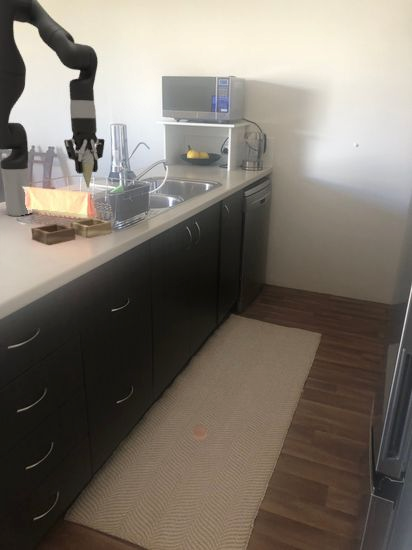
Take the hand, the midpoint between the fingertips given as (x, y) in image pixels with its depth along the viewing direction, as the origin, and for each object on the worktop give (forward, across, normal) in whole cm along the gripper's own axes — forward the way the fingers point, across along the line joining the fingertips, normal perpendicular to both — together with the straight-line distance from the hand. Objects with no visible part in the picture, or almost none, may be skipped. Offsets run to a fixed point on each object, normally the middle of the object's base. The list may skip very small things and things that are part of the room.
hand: (87, 172), depth 139 cm
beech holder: (+20, 0, 0) cm, 20 cm away
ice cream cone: (+5, 0, 0) cm, 5 cm away
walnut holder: (+20, +13, -2) cm, 24 cm away
